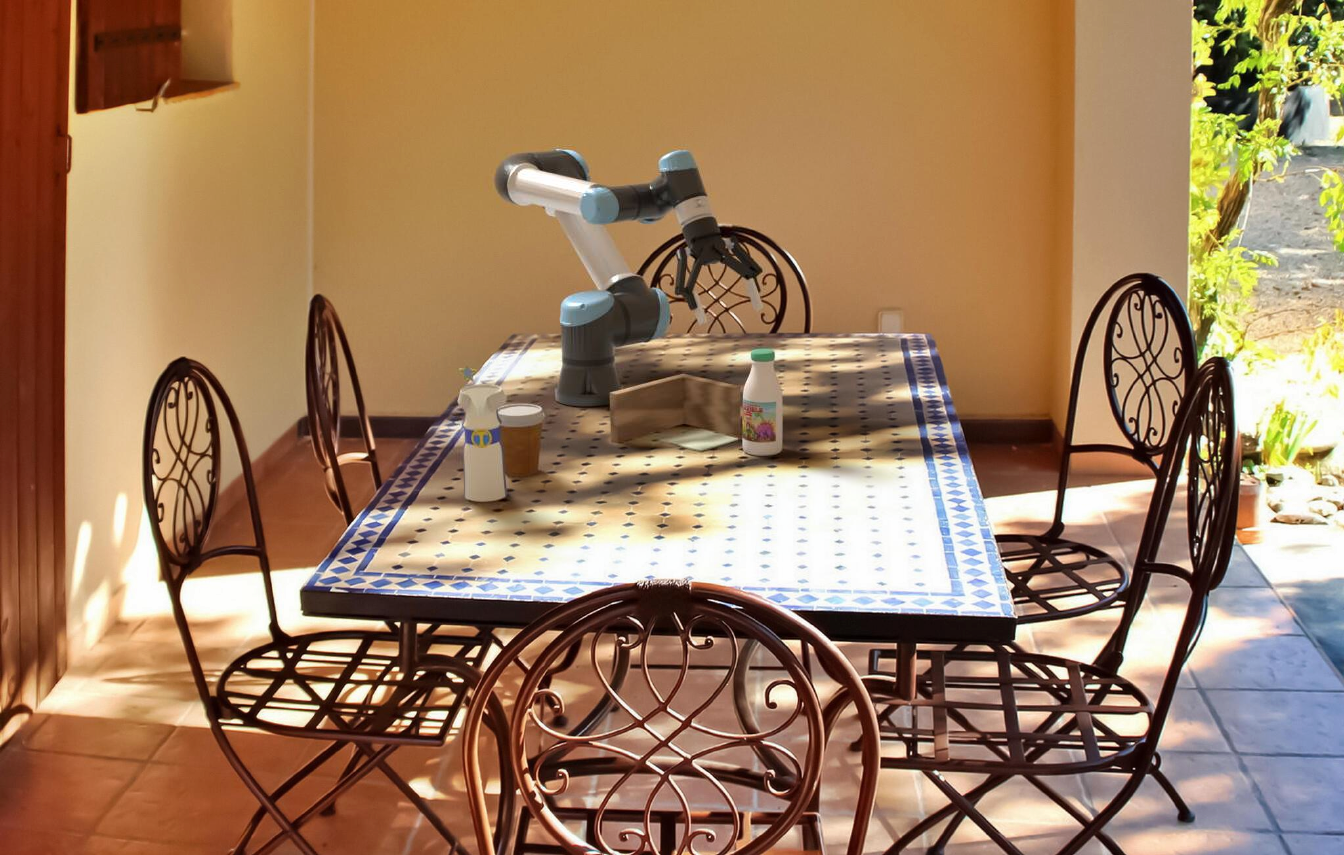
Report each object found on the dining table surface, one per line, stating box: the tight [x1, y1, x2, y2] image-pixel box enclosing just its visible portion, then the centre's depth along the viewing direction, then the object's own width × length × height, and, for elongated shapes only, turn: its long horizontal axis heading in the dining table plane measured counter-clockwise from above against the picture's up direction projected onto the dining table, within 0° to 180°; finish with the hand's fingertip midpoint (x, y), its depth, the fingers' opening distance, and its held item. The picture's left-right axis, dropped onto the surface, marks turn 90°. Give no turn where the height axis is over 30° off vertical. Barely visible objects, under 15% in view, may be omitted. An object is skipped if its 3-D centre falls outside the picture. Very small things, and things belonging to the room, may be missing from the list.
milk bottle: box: [742, 348, 783, 457], centre depth 277 cm, size 8×8×20 cm
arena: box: [609, 373, 742, 453], centre depth 287 cm, size 18×21×10 cm
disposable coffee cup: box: [498, 403, 545, 477], centre depth 267 cm, size 10×10×12 cm
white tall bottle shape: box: [457, 362, 508, 502], centre depth 253 cm, size 8×9×25 cm
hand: (731, 316), depth 299 cm, fingers open, 13 cm apart
